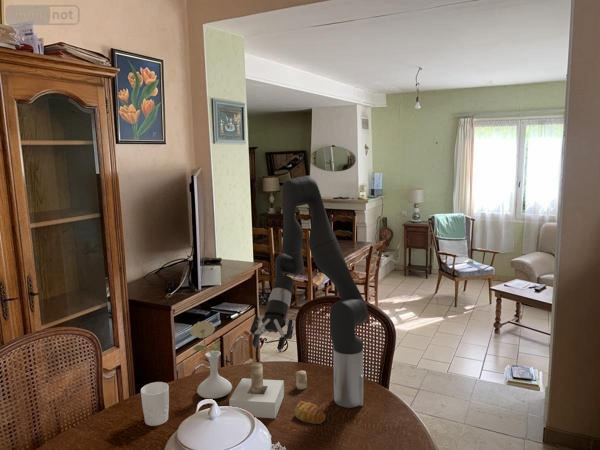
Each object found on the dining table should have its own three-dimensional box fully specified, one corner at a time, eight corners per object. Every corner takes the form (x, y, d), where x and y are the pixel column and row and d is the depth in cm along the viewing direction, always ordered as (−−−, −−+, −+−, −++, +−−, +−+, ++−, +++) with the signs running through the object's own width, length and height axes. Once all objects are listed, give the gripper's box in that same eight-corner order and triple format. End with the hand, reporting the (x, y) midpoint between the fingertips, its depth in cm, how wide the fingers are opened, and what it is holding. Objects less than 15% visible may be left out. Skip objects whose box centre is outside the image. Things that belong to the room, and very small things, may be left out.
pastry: (330, 417, 135) (330, 405, 134) (317, 428, 129) (317, 416, 129) (304, 408, 140) (304, 397, 140) (291, 418, 135) (291, 406, 134)
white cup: (145, 430, 130) (142, 397, 129) (140, 417, 137) (138, 385, 136) (173, 422, 133) (171, 390, 132) (167, 410, 140) (165, 379, 139)
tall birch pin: (264, 402, 144) (263, 363, 142) (262, 408, 141) (260, 368, 139) (253, 401, 145) (252, 362, 143) (250, 407, 141) (249, 367, 140)
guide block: (284, 395, 148) (283, 380, 148) (275, 418, 135) (274, 402, 134) (242, 392, 151) (242, 378, 150) (229, 415, 137) (229, 399, 136)
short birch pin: (303, 383, 156) (301, 369, 155) (309, 386, 153) (308, 372, 152) (294, 386, 154) (293, 373, 153) (300, 390, 151) (299, 376, 150)
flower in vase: (235, 385, 156) (232, 314, 152) (228, 402, 144) (225, 326, 141) (197, 385, 156) (193, 315, 153) (188, 402, 145) (184, 327, 142)
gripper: (256, 297, 157) (243, 341, 148) (295, 300, 152) (284, 345, 143) (263, 307, 163) (250, 350, 153) (300, 310, 158) (290, 355, 149)
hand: (266, 348), depth 148 cm, fingers open, 8 cm apart
